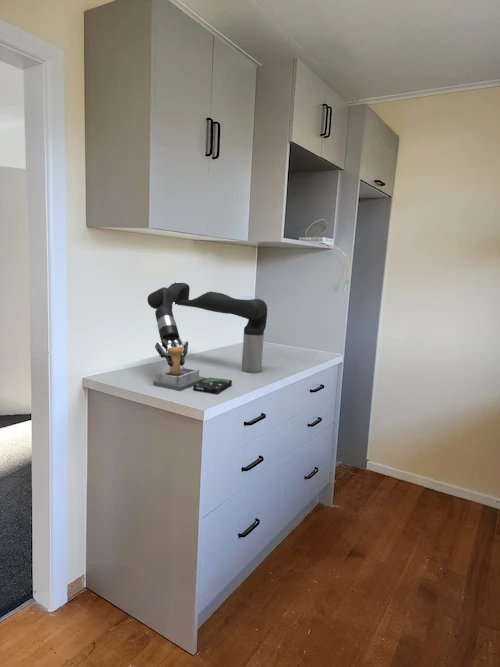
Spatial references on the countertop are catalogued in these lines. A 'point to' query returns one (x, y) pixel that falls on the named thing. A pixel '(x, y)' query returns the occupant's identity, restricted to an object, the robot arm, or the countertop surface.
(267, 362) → the countertop surface
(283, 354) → the countertop surface
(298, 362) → the countertop surface
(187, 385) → the box
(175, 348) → the ball-topped knob
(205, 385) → the disk drive
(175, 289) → the robot arm
